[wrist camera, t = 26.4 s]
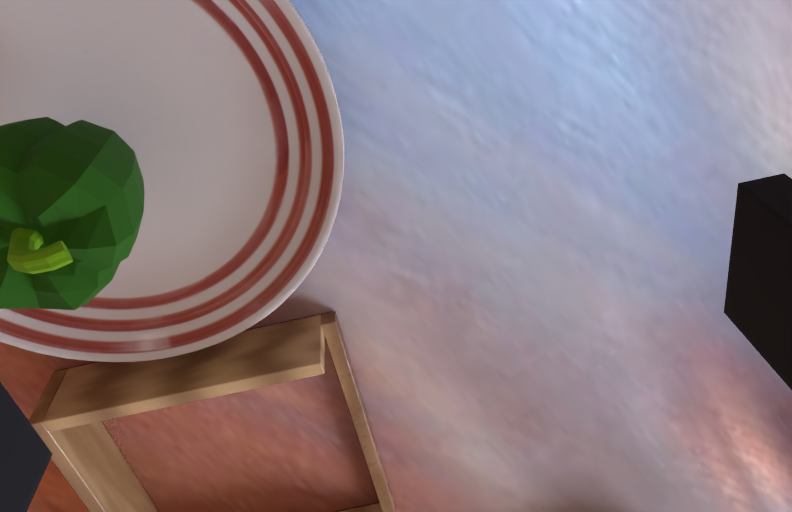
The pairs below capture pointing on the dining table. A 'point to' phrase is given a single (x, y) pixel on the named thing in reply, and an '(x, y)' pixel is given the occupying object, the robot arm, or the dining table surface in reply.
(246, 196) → the dinner plate
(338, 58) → the dining table surface
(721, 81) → the dining table surface
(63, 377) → the crate
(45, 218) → the bell pepper
